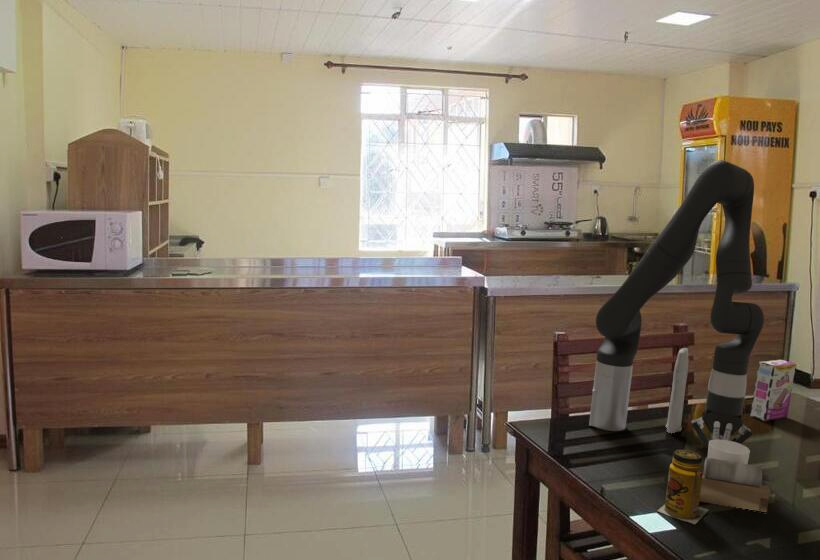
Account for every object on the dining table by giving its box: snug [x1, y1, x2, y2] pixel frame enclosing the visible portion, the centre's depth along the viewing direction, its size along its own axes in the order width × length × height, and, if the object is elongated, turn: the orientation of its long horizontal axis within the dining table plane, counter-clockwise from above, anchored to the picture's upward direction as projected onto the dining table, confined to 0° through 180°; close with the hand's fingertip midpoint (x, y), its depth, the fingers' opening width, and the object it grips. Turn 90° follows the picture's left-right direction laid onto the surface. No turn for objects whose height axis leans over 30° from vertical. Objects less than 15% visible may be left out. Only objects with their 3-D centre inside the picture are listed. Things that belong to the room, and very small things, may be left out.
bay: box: [699, 457, 775, 513], centre depth 145 cm, size 18×14×9 cm
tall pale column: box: [665, 347, 689, 435], centre depth 181 cm, size 11×4×22 cm, turn 148°
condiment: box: [656, 449, 710, 525], centre depth 134 cm, size 7×8×12 cm
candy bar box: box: [749, 359, 797, 422], centre depth 198 cm, size 11×5×16 cm, turn 120°
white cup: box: [706, 438, 751, 464], centre depth 144 cm, size 8×8×10 cm
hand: (715, 464), depth 155 cm, fingers closed
